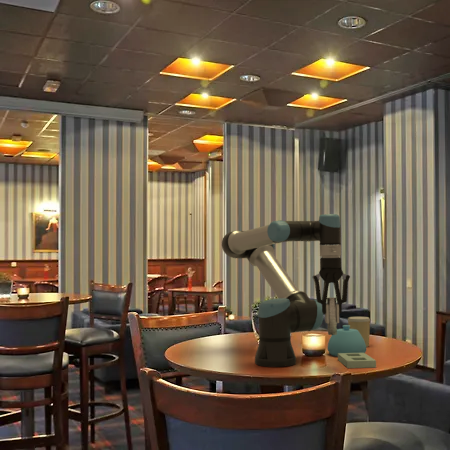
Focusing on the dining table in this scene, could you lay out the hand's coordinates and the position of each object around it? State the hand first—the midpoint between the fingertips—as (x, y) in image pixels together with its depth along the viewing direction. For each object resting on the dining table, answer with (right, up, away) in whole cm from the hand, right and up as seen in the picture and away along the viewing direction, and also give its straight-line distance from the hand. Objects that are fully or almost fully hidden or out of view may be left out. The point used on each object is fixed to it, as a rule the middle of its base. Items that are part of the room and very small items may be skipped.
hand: (332, 322), depth 214 cm
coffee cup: (+19, -17, +41) cm, 48 cm away
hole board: (+9, -15, +3) cm, 18 cm away
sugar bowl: (+10, -16, +21) cm, 29 cm away
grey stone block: (0, -4, 0) cm, 4 cm away
